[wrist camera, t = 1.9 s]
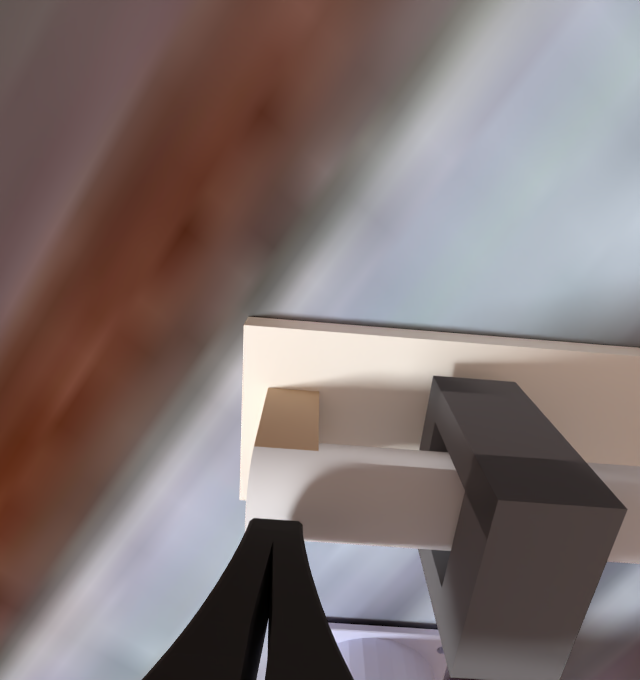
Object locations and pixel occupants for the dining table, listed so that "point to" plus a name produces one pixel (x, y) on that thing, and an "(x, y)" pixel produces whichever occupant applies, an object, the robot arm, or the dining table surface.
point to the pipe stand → (412, 425)
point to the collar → (513, 534)
